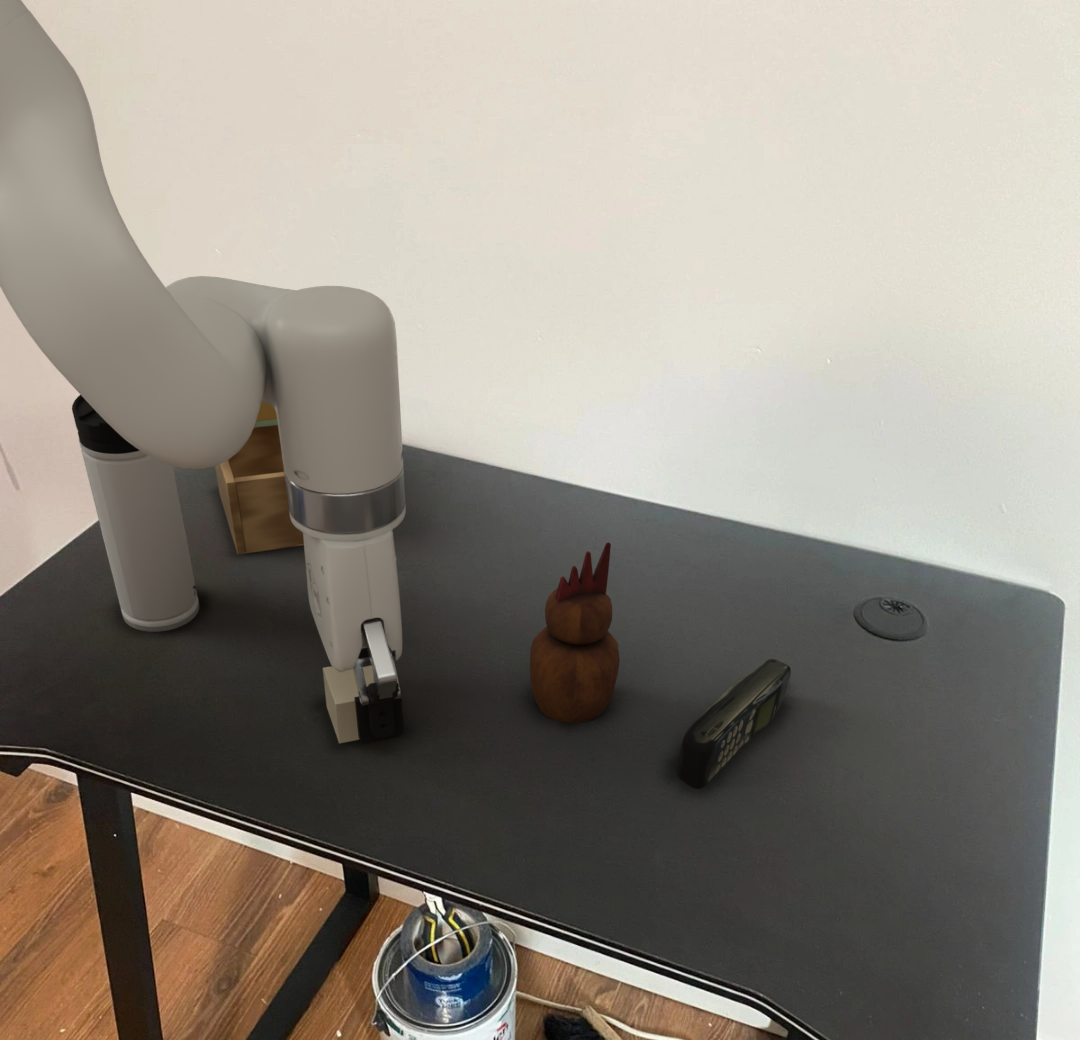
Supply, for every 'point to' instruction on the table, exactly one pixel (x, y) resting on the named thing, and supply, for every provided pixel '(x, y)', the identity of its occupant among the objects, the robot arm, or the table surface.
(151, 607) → the travel mug
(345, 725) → the cream block
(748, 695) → the mobile phone
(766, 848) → the table surface
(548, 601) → the wooden figurine
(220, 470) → the oak box
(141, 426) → the robot arm
